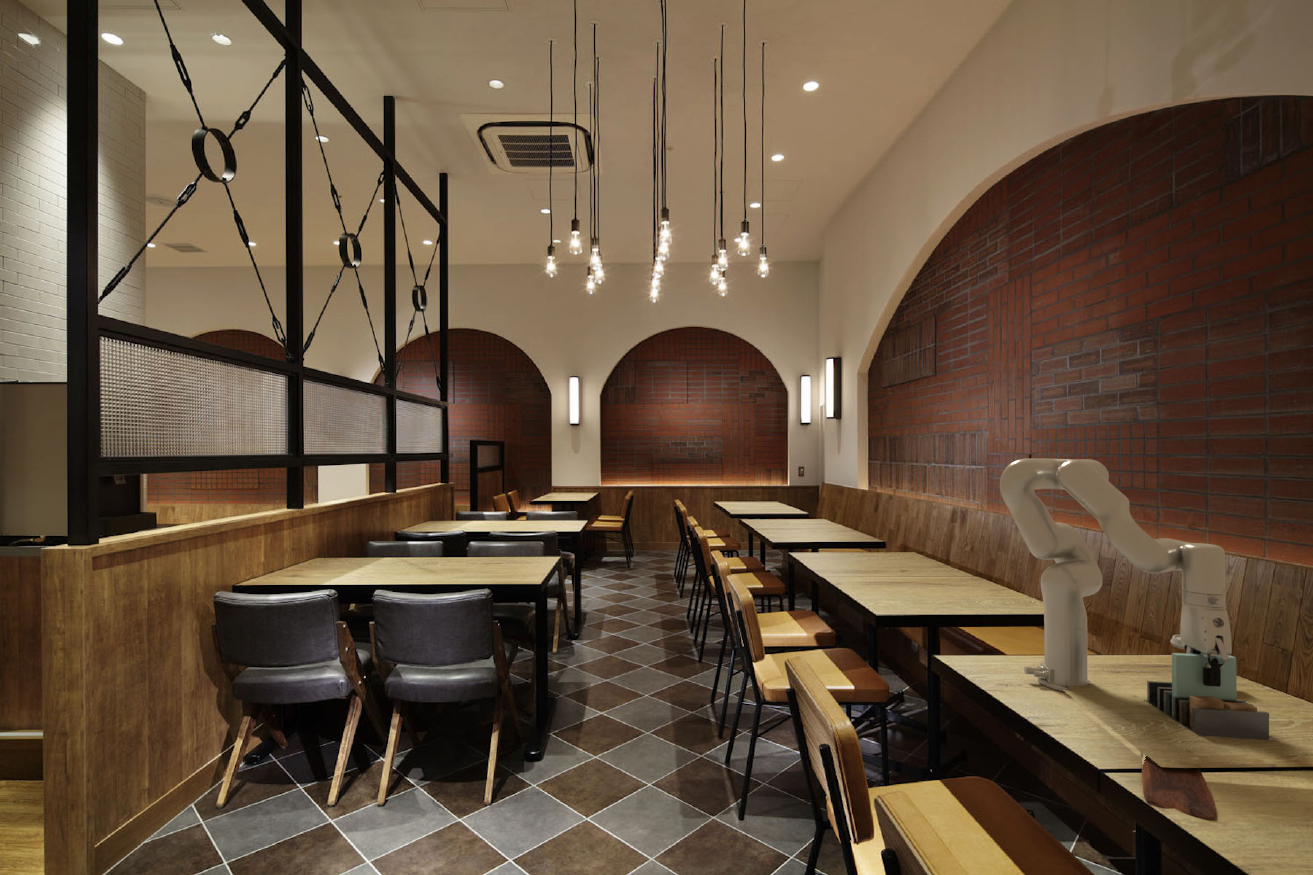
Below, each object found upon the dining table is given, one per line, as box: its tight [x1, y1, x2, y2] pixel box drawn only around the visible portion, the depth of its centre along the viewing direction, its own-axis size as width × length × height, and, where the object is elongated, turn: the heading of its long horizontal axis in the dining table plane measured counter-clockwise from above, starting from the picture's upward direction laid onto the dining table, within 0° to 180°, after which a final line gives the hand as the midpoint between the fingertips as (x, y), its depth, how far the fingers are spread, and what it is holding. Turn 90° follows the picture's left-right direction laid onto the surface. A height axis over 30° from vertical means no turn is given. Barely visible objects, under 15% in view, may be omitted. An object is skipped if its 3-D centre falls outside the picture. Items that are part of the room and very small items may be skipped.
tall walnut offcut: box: [1190, 696, 1223, 727], centre depth 142 cm, size 5×2×6 cm, turn 82°
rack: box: [1143, 680, 1275, 741], centre depth 147 cm, size 14×20×6 cm
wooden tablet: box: [1141, 755, 1217, 821], centre depth 122 cm, size 26×2×10 cm
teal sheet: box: [1171, 652, 1238, 716], centre depth 147 cm, size 12×2×14 cm, turn 82°
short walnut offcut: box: [1223, 702, 1258, 711], centre depth 141 cm, size 5×2×6 cm, turn 82°
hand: (1203, 680), depth 147 cm, fingers open, 4 cm apart
